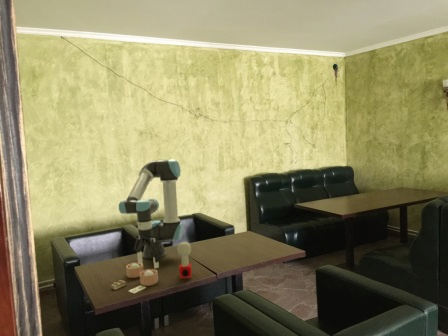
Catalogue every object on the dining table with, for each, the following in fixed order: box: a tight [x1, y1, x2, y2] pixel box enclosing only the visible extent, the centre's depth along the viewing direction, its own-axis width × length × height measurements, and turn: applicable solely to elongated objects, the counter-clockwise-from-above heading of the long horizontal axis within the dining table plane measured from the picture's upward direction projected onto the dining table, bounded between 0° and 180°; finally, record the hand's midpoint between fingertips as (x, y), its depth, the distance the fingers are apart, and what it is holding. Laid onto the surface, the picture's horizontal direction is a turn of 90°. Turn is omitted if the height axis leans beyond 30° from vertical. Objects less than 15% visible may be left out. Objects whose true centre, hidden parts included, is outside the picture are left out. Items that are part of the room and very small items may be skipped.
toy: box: [176, 241, 193, 279], centre depth 211 cm, size 8×8×20 cm
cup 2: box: [139, 268, 159, 287], centre depth 205 cm, size 9×9×6 cm
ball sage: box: [130, 264, 140, 268], centre depth 218 cm, size 6×6×6 cm
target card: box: [128, 284, 147, 294], centre depth 197 cm, size 5×8×1 cm, turn 142°
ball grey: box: [144, 269, 154, 276], centre depth 205 cm, size 6×6×6 cm
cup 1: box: [125, 262, 145, 279], centre depth 218 cm, size 9×9×6 cm
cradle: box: [111, 279, 127, 290], centre depth 202 cm, size 3×7×3 cm, turn 142°
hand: (148, 265), depth 205 cm, fingers open, 13 cm apart
